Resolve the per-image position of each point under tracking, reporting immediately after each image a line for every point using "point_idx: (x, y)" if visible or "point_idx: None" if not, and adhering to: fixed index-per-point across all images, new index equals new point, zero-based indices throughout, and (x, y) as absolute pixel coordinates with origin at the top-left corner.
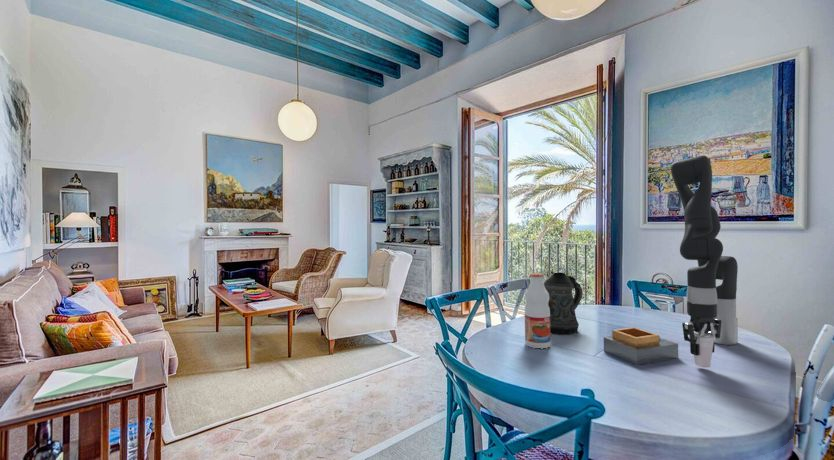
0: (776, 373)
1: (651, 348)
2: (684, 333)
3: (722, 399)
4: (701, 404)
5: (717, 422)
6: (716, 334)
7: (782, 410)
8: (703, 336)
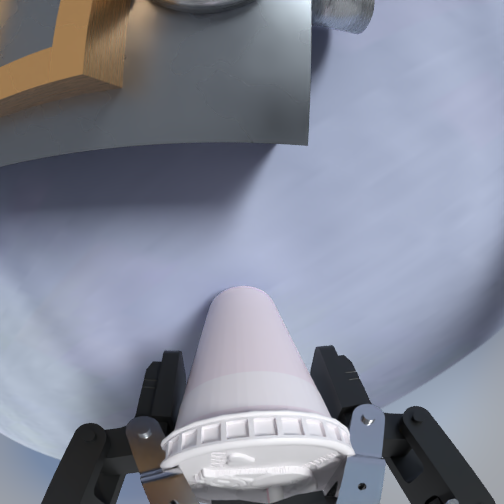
0: (423, 373)
1: (2, 165)
2: (58, 479)
3: None
4: (31, 412)
5: (28, 435)
6: (391, 461)
7: None
8: (234, 493)
